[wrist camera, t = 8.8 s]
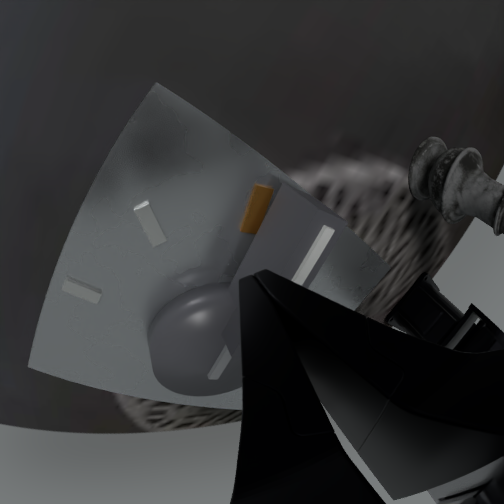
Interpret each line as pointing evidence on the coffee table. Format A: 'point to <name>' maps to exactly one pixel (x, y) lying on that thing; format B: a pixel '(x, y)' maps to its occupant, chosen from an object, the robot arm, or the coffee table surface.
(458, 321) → the robot arm
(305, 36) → the coffee table surface
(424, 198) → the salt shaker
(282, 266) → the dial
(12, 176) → the coffee table surface
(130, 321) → the panel
